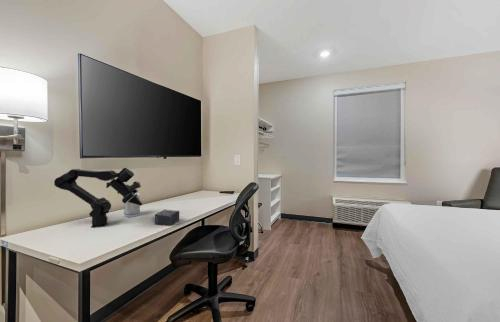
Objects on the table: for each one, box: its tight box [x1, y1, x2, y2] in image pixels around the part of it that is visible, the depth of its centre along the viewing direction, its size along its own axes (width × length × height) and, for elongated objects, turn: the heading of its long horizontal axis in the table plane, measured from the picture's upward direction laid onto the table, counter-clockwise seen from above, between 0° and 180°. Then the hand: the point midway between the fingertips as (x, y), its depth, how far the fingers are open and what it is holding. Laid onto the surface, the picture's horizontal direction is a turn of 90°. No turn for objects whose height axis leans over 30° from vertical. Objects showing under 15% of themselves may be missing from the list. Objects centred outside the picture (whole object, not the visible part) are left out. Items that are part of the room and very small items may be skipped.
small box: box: [154, 209, 180, 226], centre depth 126 cm, size 11×6×10 cm
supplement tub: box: [123, 192, 141, 218], centre depth 140 cm, size 10×10×15 cm
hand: (141, 204), depth 125 cm, fingers closed
